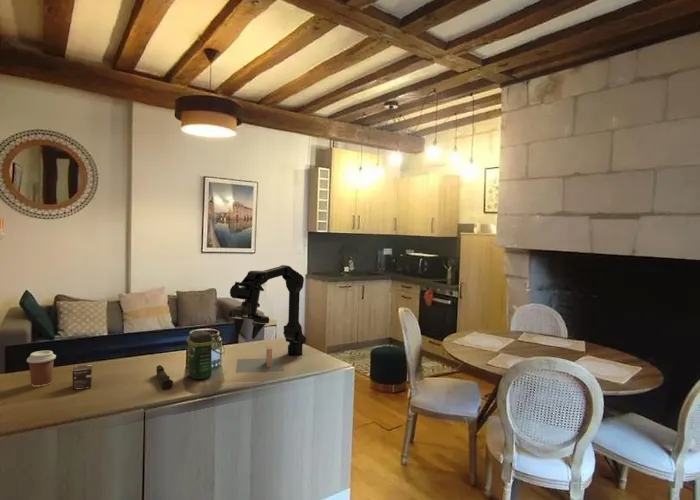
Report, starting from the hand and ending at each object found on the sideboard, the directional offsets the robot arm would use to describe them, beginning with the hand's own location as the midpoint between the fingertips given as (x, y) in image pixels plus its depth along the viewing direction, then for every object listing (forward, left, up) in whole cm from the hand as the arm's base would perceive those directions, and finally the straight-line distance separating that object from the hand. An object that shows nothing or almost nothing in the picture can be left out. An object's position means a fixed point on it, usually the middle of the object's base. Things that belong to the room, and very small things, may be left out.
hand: (245, 337), depth 186 cm
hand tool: (+32, +8, -16) cm, 36 cm away
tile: (-11, -7, -14) cm, 19 cm away
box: (+59, +9, -15) cm, 62 cm away
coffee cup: (+74, +5, -15) cm, 76 cm away
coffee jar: (+17, +3, -15) cm, 23 cm away
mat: (-7, -7, -15) cm, 18 cm away
